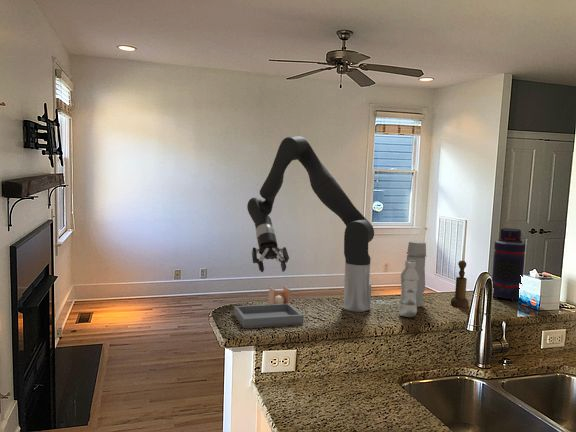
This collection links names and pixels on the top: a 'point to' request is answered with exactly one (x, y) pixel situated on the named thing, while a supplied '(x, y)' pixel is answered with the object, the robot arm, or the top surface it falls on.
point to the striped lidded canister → (508, 264)
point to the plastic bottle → (408, 290)
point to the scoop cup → (284, 294)
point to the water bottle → (418, 266)
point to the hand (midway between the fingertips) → (273, 270)
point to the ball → (279, 300)
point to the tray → (268, 315)
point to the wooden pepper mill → (460, 288)
